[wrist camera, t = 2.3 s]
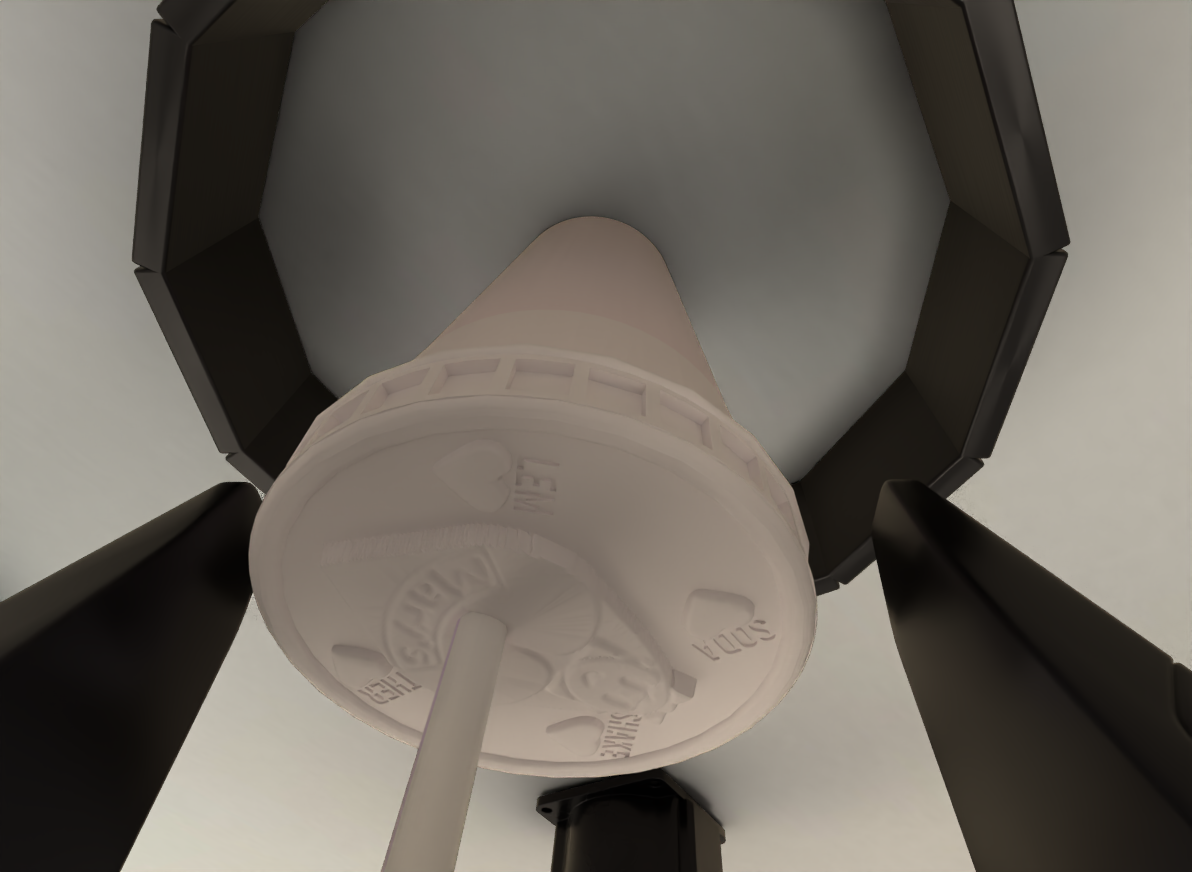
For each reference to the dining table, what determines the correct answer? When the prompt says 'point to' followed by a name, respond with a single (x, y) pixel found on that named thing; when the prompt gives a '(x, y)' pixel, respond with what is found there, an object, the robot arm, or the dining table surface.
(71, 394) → the dining table surface
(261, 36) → the pan
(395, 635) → the smoothie
